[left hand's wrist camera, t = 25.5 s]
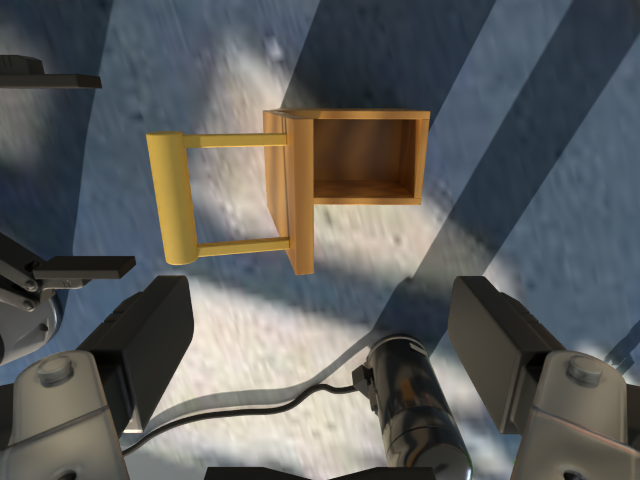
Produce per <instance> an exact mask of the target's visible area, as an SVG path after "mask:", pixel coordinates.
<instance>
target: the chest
mask: <svg viewBox="0 0 640 480" xmlns="http://www.w3.org/2000/svg"><path fill="white" fill-rule="evenodd" d="M270 111H279V112H284V113H289V114H293V115H298V116H303V117H308V118H312V119H313V149H314V204H340V205H421V197H422V187H423V178H424V168H425V159H426V149H427V139H428V130H429V119H430V111H425V110H415V109H360V108H279V109H274V110H270Z"/></svg>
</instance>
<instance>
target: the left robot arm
mask: <svg viewBox="0 0 640 480" xmlns="http://www.w3.org/2000/svg"><path fill="white" fill-rule="evenodd" d="M193 333H194V318H193V311H192V304H191V297H190V290H189V283H188V280H187V278H186V276H157V277H156V278H155V279H154V280H153V282H152V283H151V284H150V285H149V286H148V287H147V288H146V289H145V290H144V291H143V292H138V293H136V294H134V295H133V296H131V297H129V298H127V299H126V300H124V301H123V302H122V303H121V304H120V305H119V306H118V307H117V308H116V309H115V310H114V311H113V314H110V315H109V316H108V317H107V318H106V319H105V320H104V323H101V324H100V325H99V326H98V327H97V328H96V329H95V330H94V331H93V332H92V333H91V334H90V335H89V336H88V337H87V338H86V339H85V340H84V341H83V342H82V344H81V345H80V346H79V347H78V348H77V349H76V350H69V351H63V352H59V353H55V354H52V355H50V356H47V357H45V358H42V359H40V360H38V361H36V362H35V363H33V364H31V365H30V366H28V367H27V368H26V369H24V370H23V371H22V372H21V373H20V374H19V375H18V377H17V378H16V380H15V382H14V383H12V384H7V385H2V386H0V480H130V478H129V474H128V471H127V467H126V464H125V460H124V457H125V456H127V455H129V454H131V453H133V452H134V451H136V450H137V449H138V448H140V447H141V446H142V445H144V444H145V443H146V442H147V441H149V440H150V439H152V438H153V437H155V436H157V435H159V434H161V433H163V432H165V431H167V430H170V429H172V428H175V427H177V426H180V425H184V424H187V423H191V422H195V421H199V420H205V419H211V418H221V417H232V416H243V415H269V414H277V413H281V412H285V411H288V410H290V409H292V408H294V407H295V406H297V405H298V404H300V403H301V402H302V401H303V400H304V399H306V398H307V397H308V396H309V395H311V394H312V393H314V392H316V391H319V390H326V391H328V392H330V393H333V394H345V393H351V392H355V391H360V392H361V393H362V394H363V395H365V396H366V397H367V398H368V399H369V400H370V406H371V410H372V411H373V412H374V413H375V414H376V415H377V416H378V417H379V421H380V427H381V432H382V438H383V443H384V448H385V453H386V459H387V464H388V467H375V468H371V469H368V470H364V471H360V472H356V473H352V474H348V475H344V476H341V477H337V478H333V479H329V480H472V476H473V466H472V461H471V458H470V455H469V453H468V451H467V448H466V446H465V444H464V441H463V439H462V436H461V434H460V431H459V429H458V427H457V424H456V422H455V420H454V417H453V415H452V413H451V410H450V408H449V405H448V403H447V401H446V398H445V396H444V394H443V391H442V389H441V386H440V384H439V382H438V379H437V377H436V375H435V372H434V370H433V367H432V365H431V363H430V360H429V356H428V354H427V352H426V349H425V347H424V346H423V344H422V343H421V342H420V341H418V340H417V339H415V338H413V337H411V336H407V335H392V336H388V337H386V338H383V339H382V340H380V341H379V342H377V343H376V344H375V345H374V346H373V347H372V349H371V351H370V353H369V356H368V360H367V361H366V362H365V363H364V366H363V365H360V366H359V367H358V368H356V369H355V370H354V371H352V378H353V385H352V386H348V387H342V388H335V387H332V386H330V385H327V384H318V385H315V386H312V387H310V388H309V389H307V390H306V391H305V392H303V393H302V394H301V395H300V396H299V397H297V398H296V399H295V400H294V401H292V402H290V403H289V404H286V405H284V406H280V407H276V408H267V409H241V410H231V411H220V412H210V413H204V414H199V415H194V416H190V417H186V418H183V419H180V420H177V421H174V422H171V423H169V424H167V425H164V426H162V427H160V428H158V429H156V430H154V431H152V432H151V433H149V434H148V435H146V436H145V437H144V438H142V439H141V440H140V441H139V442H137V443H136V444H135V445H133V446H132V447H130V448H128V449H126V450H124V451H122V450H121V447H120V443H119V438H120V437H121V435H122V433H143V431H144V429H145V427H146V425H147V424H148V422H149V420H150V418H151V416H152V414H153V412H154V410H155V409H156V407H157V405H158V403H159V401H160V399H161V397H162V395H163V394H164V392H165V390H166V388H167V386H168V384H169V382H170V380H171V379H172V377H173V375H174V373H175V371H176V369H177V367H178V365H179V364H180V362H181V360H182V358H183V356H184V354H185V352H186V350H187V349H188V347H189V345H190V343H191V341H192V338H193ZM448 334H449V338H450V341H451V344H452V346H453V347H454V349H455V351H456V353H457V355H458V357H459V359H460V360H461V362H462V364H463V366H464V368H465V370H466V371H467V373H468V375H469V377H470V379H471V381H472V383H473V384H474V386H475V388H476V390H477V392H478V394H479V396H480V397H481V399H482V401H483V403H484V405H485V407H486V409H487V410H488V412H489V414H490V416H491V418H492V420H493V422H494V423H495V425H496V427H497V429H498V431H499V433H500V434H520V435H521V436H522V440H521V443H520V447H519V450H518V453H517V457H516V460H515V464H514V467H513V471H512V474H511V478H510V480H640V386H635V385H630V384H626V382H625V380H624V378H623V377H622V375H621V374H620V373H619V372H618V371H617V370H616V369H614V368H613V367H612V366H610V365H609V364H607V363H605V362H604V361H602V360H600V359H598V358H595V357H593V356H590V355H588V354H585V353H581V352H577V351H571V350H567V349H566V348H565V347H564V346H563V345H562V344H561V343H560V342H559V341H558V340H557V339H556V338H555V337H554V336H553V335H552V334H551V333H550V332H549V331H548V330H547V329H546V328H545V327H544V326H543V325H542V324H541V323H539V322H538V320H537V319H536V318H535V317H534V316H533V315H532V314H530V312H529V311H528V310H527V309H526V308H525V307H524V306H523V305H522V304H521V303H520V302H519V301H517V300H516V299H514V298H512V297H510V296H509V295H507V294H505V293H503V292H499V291H498V290H497V289H496V288H495V287H494V286H493V285H492V284H491V283H490V282H489V281H488V280H487V279H486V278H485V277H484V276H457V277H456V278H455V280H454V284H453V290H452V297H451V304H450V311H449V318H448ZM204 480H311V479H307V478H303V477H299V476H296V475H292V474H288V473H284V472H280V471H276V470H272V469H269V468H265V467H208V468H207V471H206V475H205V478H204Z"/></svg>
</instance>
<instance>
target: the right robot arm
mask: <svg viewBox="0 0 640 480" xmlns="http://www.w3.org/2000/svg"><path fill="white" fill-rule="evenodd" d="M0 88H102V85H101V80H100V77H97V76H88V75H78V74H45V73H44V69H43V65H42V61H41V60H38V59H36V58H33V57H27V56H20V55H0ZM135 265H136V261H135V256H56V257H54V258H52V259H51V260H49V261H47V262H46V261H45V260H43V259H42V258H40V257H39V256H37V255H35V254H34V253H32V252H31V251H29V250H27V249H26V248H24V247H23V246H21V245H20V244H18V243H16V242H15V241H13V240H12V239H10V238H9V237H7V236H5V235H4V234H2V233H1V232H0V366H1V365H3V364H6V363H8V362H10V361H13V360H15V359H17V358H20V357H22V356H24V355H27V354H29V353H31V352H34V351H36V350H37V349H39V348H41V347H42V346H44V345H45V344H46V343H47V342H48V341H49V340H51V339H52V338H53V337H54V336H55V335H56V333H57V332H58V330H59V328H60V325H61V321H62V311H61V306H60V303H59V300H58V298H57V296H56V294H55V293H56V291H55V289H65V288H66V289H70V288H71V289H78V288H81V287H83V286H85V285H86V284H87V283H88V282H90V281H91V280H92V279H120V278H122V277H123V276H124V275H125V274H126V273H127V272H128V271H129V270H131V269H132V268H133V267H134V266H135Z"/></svg>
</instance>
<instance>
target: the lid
mask: <svg viewBox="0 0 640 480" xmlns="http://www.w3.org/2000/svg"><path fill="white" fill-rule="evenodd" d="M263 130H264V133H256V134H193V135H184V133H183V132H177V131H162V132H149V133H147V134H146V137H147V143H148V150H149V156H150V162H151V169H152V175H153V181H154V188H155V194H156V200H157V207H158V213H159V219H160V226H161V232H162V239H163V245H164V251H165V258H166V261H167V263H169V264H173V265H182V264H188V263H191V262H193V261H195V260H197V259H198V257H202V256H213V255H225V254H236V253H248V252H259V251H271V250H282V249H285V250H286V252H287V255H288V257H289V259H290V262H291V264H292V267H293V269H294V271H295V274H296V275H301V274H310V273H314V149H313V119H312V118H308V117H303V116H298V115H293V114H289V113H284V112H279V111H263ZM245 146H264V150H265V171H266V192H267V207H268V209H269V212H270V214H271V216H272V219H273V221H274V224H275V226H276V228H277V231H278V233H279V235H280V237H278V238H265V239H253V240H240V241H227V242H215V243H202V244H197V237H196V228H195V220H194V212H193V204H192V196H191V188H190V179H189V171H188V163H187V155H186V148H202V147H245Z"/></svg>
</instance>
